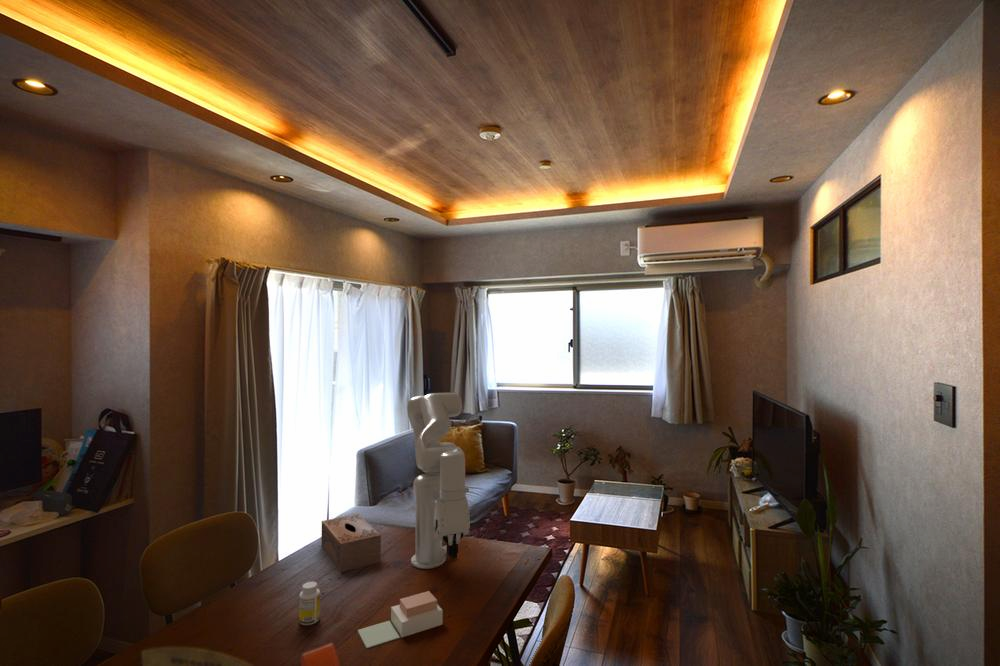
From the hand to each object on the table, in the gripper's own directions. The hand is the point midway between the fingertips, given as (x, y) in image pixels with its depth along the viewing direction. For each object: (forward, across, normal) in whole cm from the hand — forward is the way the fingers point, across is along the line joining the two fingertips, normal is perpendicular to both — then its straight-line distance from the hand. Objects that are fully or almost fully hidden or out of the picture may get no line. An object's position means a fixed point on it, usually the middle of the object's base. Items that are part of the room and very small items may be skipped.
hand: (452, 556), depth 145 cm
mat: (+16, +22, -1) cm, 27 cm away
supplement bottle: (+16, +37, -17) cm, 44 cm away
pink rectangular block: (+12, +10, -1) cm, 16 cm away
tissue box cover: (+16, +16, -56) cm, 61 cm away
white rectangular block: (+16, +11, -1) cm, 20 cm away
